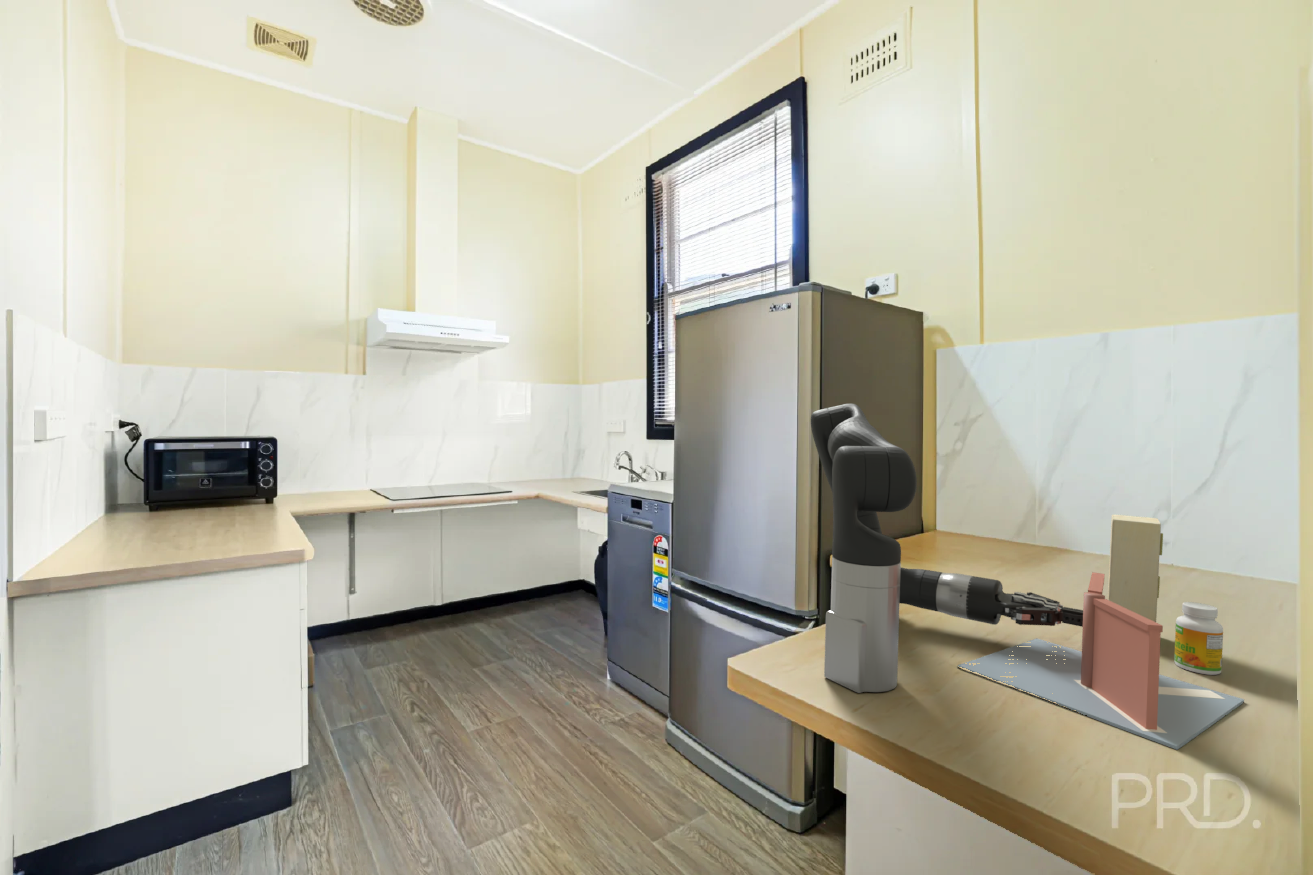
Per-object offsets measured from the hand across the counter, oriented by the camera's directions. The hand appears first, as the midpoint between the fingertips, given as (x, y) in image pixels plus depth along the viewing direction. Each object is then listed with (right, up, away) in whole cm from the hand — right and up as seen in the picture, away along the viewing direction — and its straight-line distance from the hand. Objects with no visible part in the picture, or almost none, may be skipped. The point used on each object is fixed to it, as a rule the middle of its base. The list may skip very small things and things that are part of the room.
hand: (1091, 619), depth 93 cm
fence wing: (-2, -6, -3) cm, 7 cm away
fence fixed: (-8, -7, -15) cm, 18 cm away
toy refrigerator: (+16, -7, +12) cm, 21 cm away
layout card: (-6, -7, -8) cm, 12 cm away
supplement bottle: (+15, -7, -2) cm, 17 cm away
